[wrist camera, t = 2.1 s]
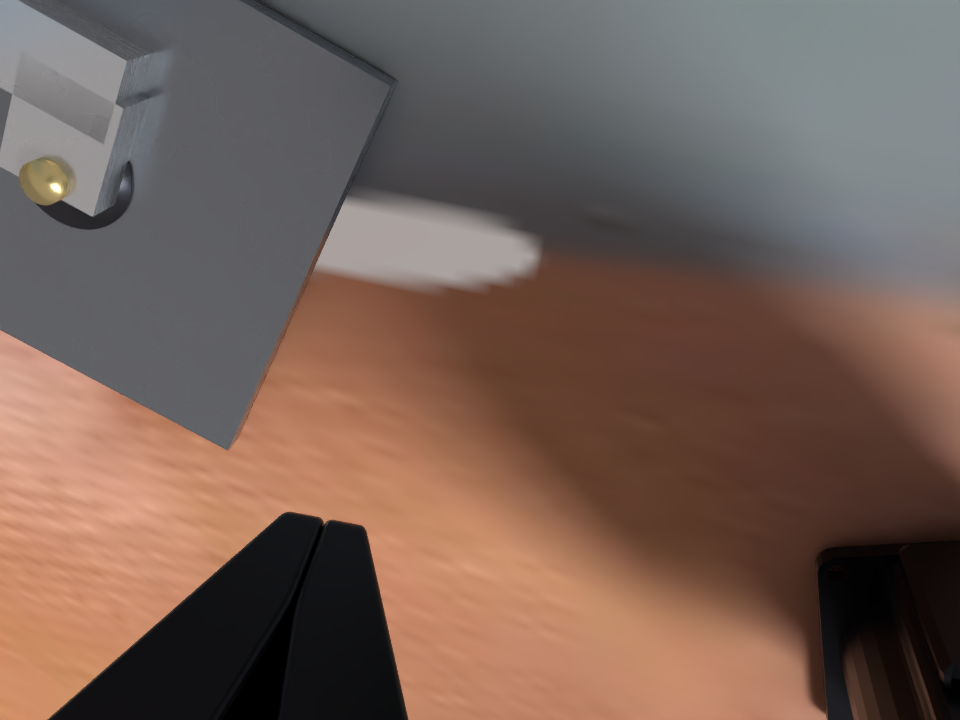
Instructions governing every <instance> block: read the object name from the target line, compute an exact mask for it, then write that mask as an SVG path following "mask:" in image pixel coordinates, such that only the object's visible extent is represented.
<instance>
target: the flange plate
mask: <svg viewBox="0 0 960 720" xmlns="http://www.w3.org/2000/svg"><path fill="white" fill-rule="evenodd" d="M397 82H398V81H397V80H395V79H393V78H391V77H390V76H388V75H386V74H384V73H383V72H381V71H379V70H377V69H376V68H374V67H372V66H370V65H369V64H367V63H365V62H363V61H362V60H360V59H358V58H356V57H355V56H353V55H351V54H349V53H347V52H346V51H344V50H342V49H340V48H339V47H337V46H335V45H333V44H332V43H330V42H328V41H326V40H325V39H323V38H321V37H319V36H318V35H316V34H314V33H312V32H311V31H309V30H307V29H305V28H304V27H302V26H300V25H298V24H297V23H295V22H293V21H291V20H290V19H288V18H286V17H284V16H283V15H281V14H279V13H277V12H276V11H274V10H272V9H270V8H269V7H267V6H265V5H263V4H262V3H260V2H258V1H256V0H0V330H1V331H3V332H5V333H7V334H9V335H11V336H13V337H15V338H17V339H18V340H20V341H22V342H24V343H26V344H28V345H30V346H32V347H34V348H35V349H37V350H39V351H41V352H43V353H45V354H47V355H49V356H50V357H52V358H54V359H56V360H58V361H60V362H62V363H64V364H66V365H67V366H69V367H71V368H73V369H75V370H77V371H79V372H81V373H83V374H84V375H86V376H88V377H90V378H92V379H94V380H96V381H98V382H100V383H101V384H103V385H105V386H107V387H109V388H111V389H113V390H115V391H117V392H118V393H120V394H122V395H124V396H126V397H128V398H130V399H132V400H134V401H135V402H137V403H139V404H141V405H143V406H145V407H147V408H149V409H151V410H152V411H154V412H156V413H158V414H160V415H162V416H164V417H166V418H167V419H169V420H171V421H173V422H175V423H177V424H179V425H181V426H183V427H184V428H186V429H188V430H190V431H192V432H194V433H196V434H198V435H200V436H201V437H203V438H205V439H207V440H209V441H211V442H213V443H215V444H217V445H218V446H220V447H222V448H224V449H226V450H229V449H230V448H231V446H232V445H233V444H234V443H235V441H236V440H237V439H238V437H239V434H240V432H241V430H242V428H243V425H244V423H245V421H246V419H247V416H248V414H249V412H250V410H251V408H252V405H253V403H254V401H255V399H256V396H257V394H258V392H259V390H260V387H261V385H262V383H263V381H264V379H265V376H266V374H267V372H268V370H269V367H270V365H271V363H272V361H273V358H274V356H275V354H276V352H277V350H278V347H279V345H280V343H281V341H282V338H283V336H284V334H285V332H286V329H287V327H288V325H289V323H290V320H291V318H292V316H293V314H294V312H295V309H296V307H297V305H298V303H299V300H300V298H301V296H302V294H303V291H304V289H305V287H306V285H307V283H308V280H309V278H310V276H311V274H312V271H313V269H314V267H315V265H316V262H317V260H318V258H319V256H320V253H321V251H322V249H323V247H324V245H325V242H326V240H327V238H328V236H329V233H330V231H331V229H332V227H333V224H334V222H335V220H336V218H337V216H338V213H339V211H340V209H341V207H342V204H343V202H344V200H345V198H346V195H347V193H348V191H349V189H350V187H351V184H352V182H353V180H354V178H355V175H356V173H357V171H358V169H359V166H360V164H361V162H362V160H363V158H364V155H365V153H366V151H367V149H368V146H369V144H370V142H371V140H372V137H373V135H374V133H375V131H376V128H377V126H378V124H379V122H380V120H381V117H382V115H383V113H384V111H385V108H386V106H387V104H388V102H389V99H390V97H391V95H392V93H393V91H394V88H395V86H396V84H397Z"/></svg>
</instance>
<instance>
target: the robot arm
mask: <svg viewBox="0 0 960 720" xmlns="http://www.w3.org/2000/svg"><path fill="white" fill-rule="evenodd" d="M837 565H839V566H844V568H843V569H842V570H838V571H833V570H830V568H832V567H833V566H837ZM815 570H816V584H817V597H818V611H819V624H820V638H821V651H822V665H823V678H824V692H825V705H826V718H827V720H960V541H945V542H926V543H908V544H889V545H871V546H852V547H834V548H830V549H826V550H824V551H823V552H821V553H820V554H819V555H818V556H817V558H816V562H815ZM48 720H408V716H407V711H406V707H405V702H404V698H403V693H402V689H401V684H400V680H399V675H398V671H397V666H396V662H395V657H394V653H393V648H392V644H391V639H390V635H389V630H388V626H387V621H386V617H385V612H384V608H383V603H382V599H381V594H380V590H379V585H378V581H377V576H376V572H375V567H374V563H373V558H372V554H371V549H370V545H369V540H368V536H367V532H366V530H365V528H364V527H363V526H361V525H357V524H352V523H347V522H342V521H336V520H329V521H327V522H326V523H325V524H324V522H323V520H322V519H321V518H319V517H315V516H310V515H305V514H300V513H294V512H286V513H284V514H282V515H281V516H279V517H278V518H277V519H276V520H275V521H274V522H273V523H271V524H270V525H269V526H268V527H267V528H266V529H265V530H263V531H262V532H261V533H260V534H259V535H258V536H257V537H255V538H254V539H253V540H252V541H251V542H250V543H249V544H247V545H246V546H245V547H244V548H243V549H242V550H241V551H239V552H238V553H237V554H236V555H235V556H234V557H233V558H231V559H230V560H229V561H228V562H227V563H226V564H225V565H223V566H222V567H221V568H220V569H219V570H218V571H217V572H215V573H214V574H213V575H212V576H211V577H210V578H209V579H207V580H206V581H205V582H204V583H203V584H202V585H201V586H199V587H198V588H197V589H196V590H195V591H194V592H193V593H192V594H190V595H189V596H188V597H187V598H186V599H185V600H184V601H182V602H181V603H180V604H179V605H178V606H177V607H176V608H174V609H173V610H172V611H171V612H170V613H169V614H168V615H166V616H165V617H164V618H163V619H162V620H161V621H160V622H158V623H157V624H156V625H155V626H154V627H153V628H152V629H150V630H149V631H148V632H147V633H146V634H145V635H144V636H142V637H141V638H140V639H139V640H138V641H137V642H136V643H134V644H133V645H132V646H131V647H130V648H129V649H128V650H126V651H125V652H124V653H123V654H122V655H121V656H120V657H118V658H117V659H116V660H115V661H114V662H113V663H112V664H110V665H109V666H108V667H107V668H106V669H105V670H104V671H102V672H101V673H100V674H99V675H98V676H97V677H96V678H94V679H93V680H92V681H91V682H90V683H89V684H88V685H86V686H85V687H84V688H83V689H82V690H81V691H80V692H78V693H77V694H76V695H75V696H74V697H73V698H72V699H70V700H69V701H68V702H67V703H66V704H65V705H64V706H62V707H61V708H60V709H59V710H58V711H57V712H56V713H54V714H53V715H52V716H51V717H50V718H49V719H48Z"/></svg>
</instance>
